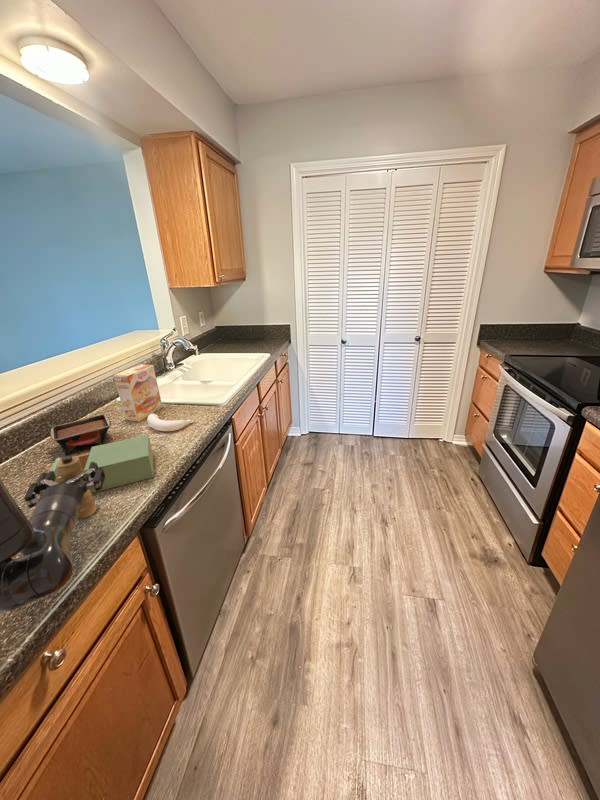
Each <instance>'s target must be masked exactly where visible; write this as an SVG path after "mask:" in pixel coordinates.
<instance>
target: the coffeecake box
mask: <svg viewBox="0 0 600 800" xmlns="http://www.w3.org/2000/svg"><path fill="white" fill-rule="evenodd" d="M154 366H155V365H154V364H138V365H136V366H133V367H131V368H128V369H126V370H123V371H121V372H117V373H115V374H113V378H114V382H115V386H116V389H117V393H118V396H119V401H120V404H121V409H122V412H123V415H124V419H125V421H132V422H141V421H143V420H144V419H145V418H146V419H147V417H148V416H149V415H150V414H155V412H157V411H159V410H160V409H162V408H163V403H162V399H161V394H160V389H159V385H158V380H157V375H156V371H155V367H154Z"/></svg>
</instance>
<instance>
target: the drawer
mask: <svg viewBox="0 0 600 800" xmlns="http://www.w3.org/2000/svg"><path fill="white" fill-rule="evenodd" d="M89 454H90V452H89V453H83V454H80V455H75V456H76V457H78V458H79V460H80V463H81V466H82V468H83V471H84V469H85V466H86V463H87V460H88V457H89ZM61 459H62V457H57V458H55V460H54V462H53V464H52V466H51V468H50V470H49V471H54V473H55V476H56V479H55V481H54V482H55V483H56V482H57V483H58V482H59V481H63V480H62V478H61V475H60V473H59V470H58V468H57V463H58V462H59V461H61ZM48 473H49V472H46V471H42V472H40V474H39V476H38V477H37V479H36V481H35V483H37V484H38V483H41V482H40V481H41V480H43V479H44V477H45V475H46V474H48ZM84 473H85V472H84Z"/></svg>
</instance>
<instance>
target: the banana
mask: <svg viewBox="0 0 600 800" xmlns="http://www.w3.org/2000/svg"><path fill="white" fill-rule="evenodd" d="M146 421H147V422H146V423H147V424H148V426H149V427H150V428H151V429H153V430H155V431H159V432H175V431H178V430H181V429H183V428H184V427H185V426H186V425H187V424H193V423H195V421H194V420H193V419H187V420H183V419H173V420H164V419H160V418H159V416H158V415H157V413H152V414H150V415H149V416H147V417H146Z"/></svg>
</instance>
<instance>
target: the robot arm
mask: <svg viewBox="0 0 600 800" xmlns="http://www.w3.org/2000/svg"><path fill="white" fill-rule="evenodd" d="M47 473H48V474H46V475H45V477H44V479H43V480H41V481H40V482H41V483H38V484H37V483H36V482H33V483H30V485H29V486H28V488H27V491H26V493H25V496H24V498H23V499H24V501H25V504H26V505H27V507H28V508H29V509H31V508H33V510H32V513H31V515H30V518H29V519H28V517H27V516H26V514H25V513H24V512H23V510H22V508H20V506H19V504H18V503H17V501H16V500H15V499H14V497H13V496H12V494H11V493H10V492H9V490H8V488H7V487H6V485H5V483H4V481H3V478H2V477H0V612H10V611H14V610H17V609H20V608H23V607H24V606H26V605H29V604H31V603H33V602H35V601H37V600H40V599H42V598H44V597H46V596H49V595H51V594H53V593H55V592H57V591H59V590H61V589H62V588H63V587H64V586H66V584H67V583H68V582H69V580H70V579H71V577H72V575H73V572H74V563H73V558H72V557H73V556H72V552H71V537H72V534H73V531H74V527H75V525H76V524H77V522H78V519H79V518H78V515H79V513H80V508H81V505H82V502H83V497H84V493H85V492H87V490H88V489H90V490H91V489H93V488H95V490H96V491H98V492H100V491H99V490H101V489H102V486H103V483H104V480H105V474H104V471H103V468H98V465H97V463H94V462H90V466H89V469H88V471H86V472H85V473H80V474H79V475H77V476H76V477H74V478H72V479H69V480H64V481H59V482H58V483H57V482H56V483H55V482H54V481H55V479H56V476H55V473H54V471H50V470H48V472H47ZM89 475H90V476H91V477H90V478H88V476H89ZM81 478H82V481H81V480H80V479H81ZM101 491H102V490H101ZM41 492H42V493H41ZM19 553H20V554H21V555H22V556H21V557H17V558H16V559H13V557H14V556H16V555H17V554H19Z"/></svg>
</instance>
